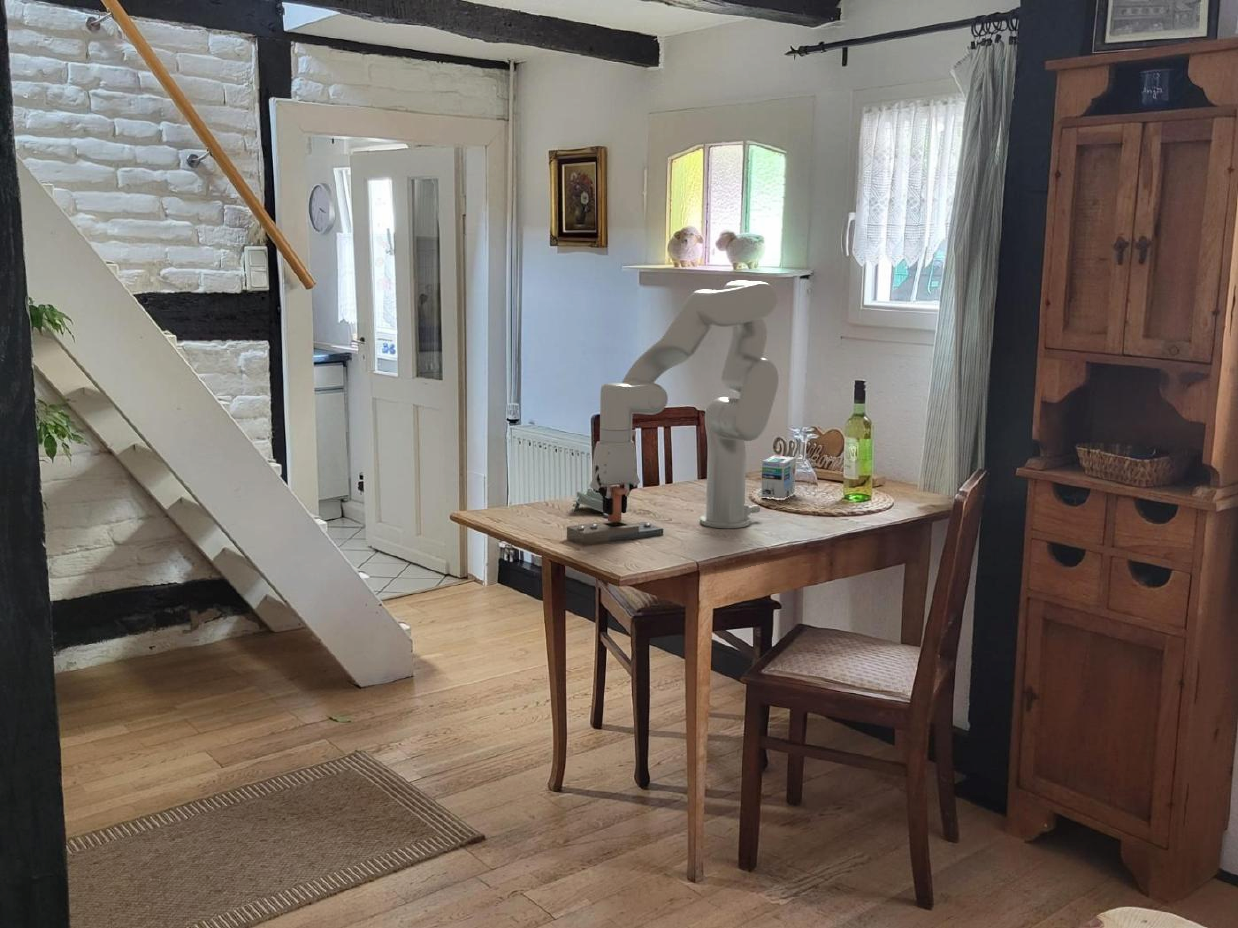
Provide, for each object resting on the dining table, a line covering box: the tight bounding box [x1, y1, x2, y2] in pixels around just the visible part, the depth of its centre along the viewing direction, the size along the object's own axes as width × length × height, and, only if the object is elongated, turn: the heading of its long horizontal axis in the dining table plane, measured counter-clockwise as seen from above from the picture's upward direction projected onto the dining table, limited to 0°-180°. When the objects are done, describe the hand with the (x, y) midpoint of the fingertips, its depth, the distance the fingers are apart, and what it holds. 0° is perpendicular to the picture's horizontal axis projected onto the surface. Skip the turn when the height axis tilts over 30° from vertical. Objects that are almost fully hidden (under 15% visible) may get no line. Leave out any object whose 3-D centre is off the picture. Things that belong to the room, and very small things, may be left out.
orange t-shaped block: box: [607, 485, 627, 522], centre depth 268 cm, size 3×7×8 cm, turn 32°
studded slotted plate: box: [566, 518, 664, 547], centre depth 269 cm, size 22×8×4 cm, turn 122°
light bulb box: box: [760, 454, 797, 498], centre depth 315 cm, size 11×7×11 cm, turn 154°
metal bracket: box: [572, 488, 631, 518], centre depth 297 cm, size 14×6×15 cm
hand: (614, 512), depth 268 cm, fingers closed on orange t-shaped block, 3 cm apart
